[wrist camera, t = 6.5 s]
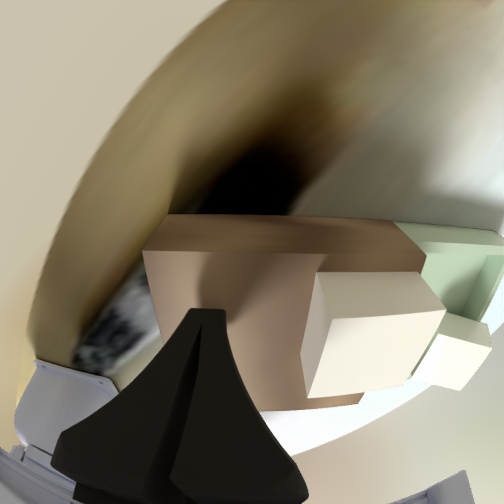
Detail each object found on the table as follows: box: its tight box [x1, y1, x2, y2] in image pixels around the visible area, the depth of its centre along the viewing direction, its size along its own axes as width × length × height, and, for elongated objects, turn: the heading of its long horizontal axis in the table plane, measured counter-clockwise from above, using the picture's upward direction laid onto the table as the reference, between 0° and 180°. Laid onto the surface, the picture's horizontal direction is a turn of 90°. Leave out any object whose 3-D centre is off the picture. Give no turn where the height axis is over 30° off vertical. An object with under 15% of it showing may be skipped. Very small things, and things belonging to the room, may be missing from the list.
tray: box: [393, 221, 504, 379], centre depth 14 cm, size 9×11×2 cm
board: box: [142, 214, 427, 411], centre depth 14 cm, size 11×11×4 cm
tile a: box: [411, 312, 492, 390], centre depth 14 cm, size 4×4×2 cm
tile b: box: [300, 272, 447, 398], centre depth 10 cm, size 4×4×2 cm
